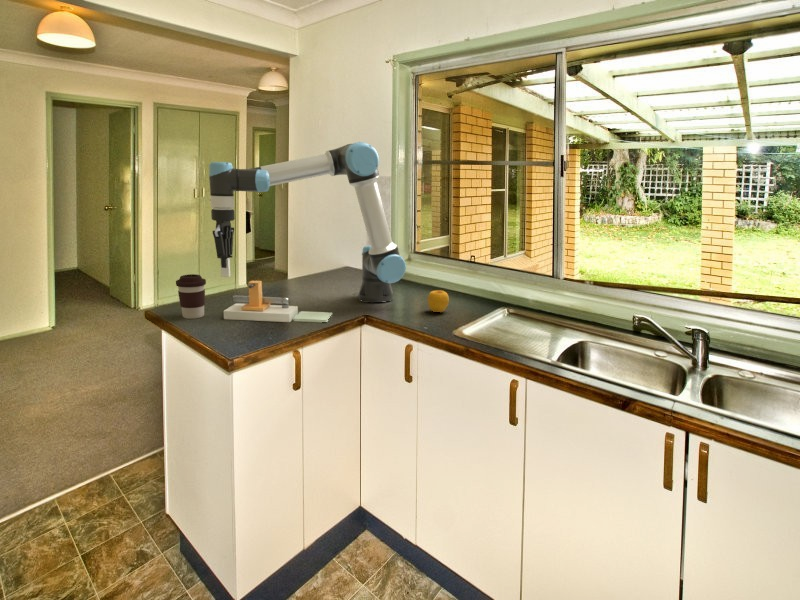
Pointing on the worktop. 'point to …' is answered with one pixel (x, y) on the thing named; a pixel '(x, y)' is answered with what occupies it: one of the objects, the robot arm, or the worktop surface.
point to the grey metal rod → (263, 299)
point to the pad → (312, 316)
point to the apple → (438, 301)
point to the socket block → (262, 313)
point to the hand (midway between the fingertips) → (225, 276)
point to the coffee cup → (191, 295)
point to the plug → (255, 297)
